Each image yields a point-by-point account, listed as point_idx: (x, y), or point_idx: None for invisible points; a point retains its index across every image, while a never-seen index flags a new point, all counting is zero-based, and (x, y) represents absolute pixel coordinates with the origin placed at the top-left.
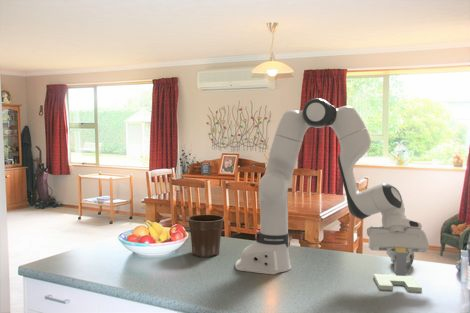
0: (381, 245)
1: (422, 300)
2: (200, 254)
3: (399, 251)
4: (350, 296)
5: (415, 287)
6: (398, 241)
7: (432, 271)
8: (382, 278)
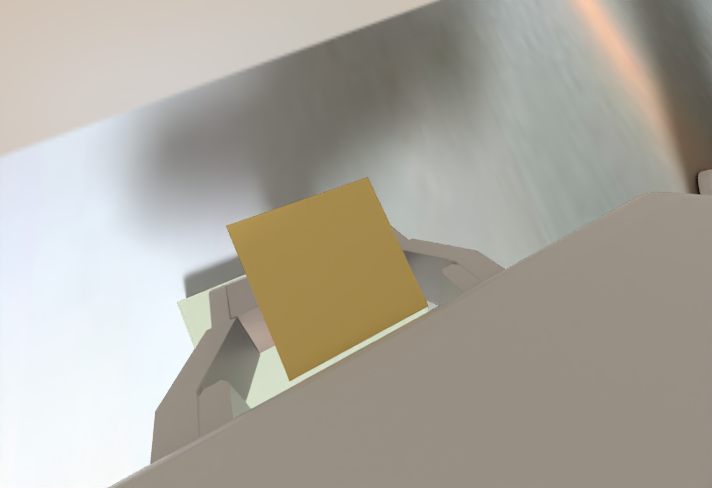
0: (589, 230)
1: (174, 186)
2: None
3: (329, 196)
4: (442, 102)
5: (214, 287)
6: (450, 449)
7: None
8: (400, 324)
